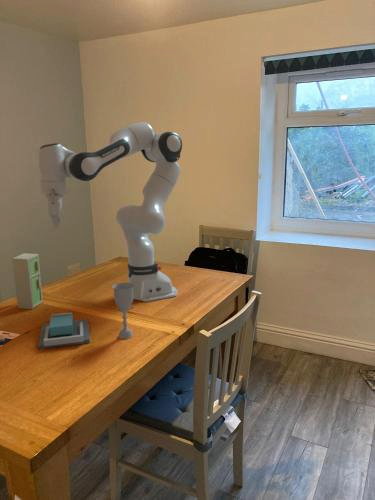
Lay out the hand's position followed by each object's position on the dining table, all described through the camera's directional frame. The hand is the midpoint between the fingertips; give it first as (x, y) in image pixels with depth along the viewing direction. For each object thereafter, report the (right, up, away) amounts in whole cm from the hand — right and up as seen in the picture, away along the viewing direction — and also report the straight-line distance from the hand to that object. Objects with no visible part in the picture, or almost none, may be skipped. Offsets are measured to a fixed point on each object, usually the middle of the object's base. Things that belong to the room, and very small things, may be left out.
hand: (56, 225), depth 148 cm
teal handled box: (+7, -38, -14) cm, 41 cm away
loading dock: (+7, -39, -12) cm, 42 cm away
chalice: (+28, -39, -14) cm, 50 cm away
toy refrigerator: (-15, -32, +12) cm, 38 cm away
